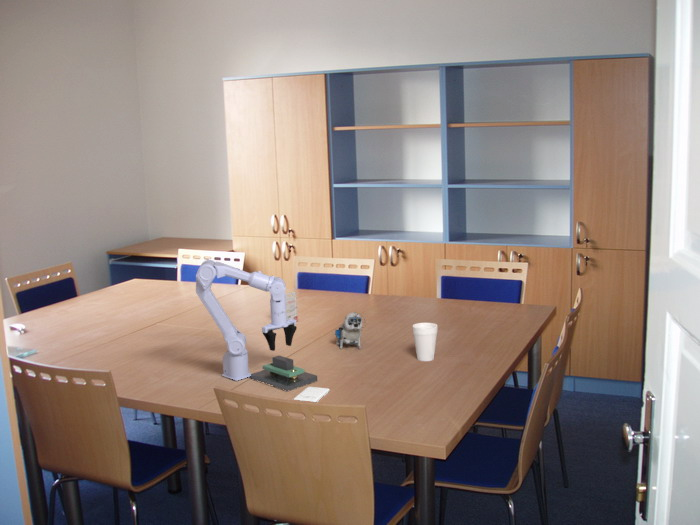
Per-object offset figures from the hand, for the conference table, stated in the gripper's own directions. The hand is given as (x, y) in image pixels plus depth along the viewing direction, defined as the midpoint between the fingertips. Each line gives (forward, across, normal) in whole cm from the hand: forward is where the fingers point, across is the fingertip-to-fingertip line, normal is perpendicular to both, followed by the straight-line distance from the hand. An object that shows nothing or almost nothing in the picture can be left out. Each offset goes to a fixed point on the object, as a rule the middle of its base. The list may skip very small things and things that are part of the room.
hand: (280, 347), depth 270 cm
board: (+6, -4, -6) cm, 10 cm away
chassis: (+10, -4, -6) cm, 12 cm away
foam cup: (+10, +47, -29) cm, 56 cm away
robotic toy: (+10, +41, +5) cm, 43 cm away
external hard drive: (+11, -9, -26) cm, 29 cm away
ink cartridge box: (+10, +49, +55) cm, 74 cm away
